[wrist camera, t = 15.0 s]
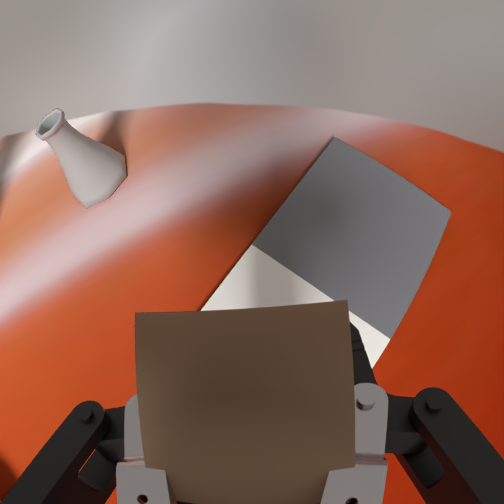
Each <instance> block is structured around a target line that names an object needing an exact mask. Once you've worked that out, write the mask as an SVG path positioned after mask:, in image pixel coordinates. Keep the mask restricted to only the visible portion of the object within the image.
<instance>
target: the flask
mask: <svg viewBox="0 0 504 504" xmlns="http://www.w3.org/2000/svg"><path fill="white" fill-rule="evenodd" d="M35 135H36V136H37V137H39V138H40V139H41V140H43V141H44V140H46V142H47V143H48V144H49V145H50V146H51V148H52V149H53V151H54V153H55V154H56V156H57V157H58V160H59V162H60V165H61V167H62V169H63V172H64V174H65V176H66V179H67V181H68V184H69V186H70V189H71V191H72V194H73V196H74V197H75V198H76V199H77V200H78V201H79V202H80V203H81V204H82V205H83V206H85V207H86V208H88V207H91V206H93V205H95V204H97V203H99V202H101V201H103V200H105V199H108V198H109V197H110V196H111V195H112V193H113V192H114V191H115V190H116V188H117V187H118V186H119V185H120V184H121V182H122V181H123V180H124V179H125V178H126V176H127V174H126V164H125V156H124V155H122V154H121V153H119V152H117V151H116V150H114V149H112V148H111V147H109V146H107V145H104V144H102V143H100V142H98V141H95V140H93V139H91V138H89V137H87V136H85V135H83V134H81V133H80V132H78V131H77V130H76V129H74V128H73V127H72V126H71V125H70V124H69V123H68V122H67V121H66V120H65V118H64V112H63V111H62V110H60V109H58V108H56V109H55V110H53V111H52V112H50V113H48V114H47V115H46V116H45V117H44V118H43V119H42V121H41V122H40V123H39V124H38V125H37V129H36V134H35Z"/></svg>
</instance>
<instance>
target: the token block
mask: <svg viewBox="0 0 504 504" xmlns="http://www.w3.org/2000/svg"><path fill="white" fill-rule="evenodd" d="M135 359H136V382H137V397H138V410H139V421H140V430H141V439H142V447H143V454H144V461H145V467H146V468H152V469H159V470H165V471H166V474H167V476H168V479H169V481H170V484H171V486H172V489H173V491H174V494H175V496H176V500H177V501H179V502H187V503H195V504H318V503H320V501H321V498H322V495H323V491H324V488H325V484H326V481H327V477H328V474H329V471H333V470H340V469H347V468H353V467H355V392H354V371H353V355H352V342H351V330H350V319H349V310H348V300H339V301H330V302H320V303H309V304H298V305H287V306H274V307H260V308H245V309H228V310H209V311H184V312H141V313H135Z"/></svg>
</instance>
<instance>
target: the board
mask: <svg viewBox="0 0 504 504" xmlns="http://www.w3.org/2000/svg"><path fill="white" fill-rule="evenodd" d="M450 214H451V211H449V210H448V209H447V208H445V207H444V206H443V205H441V204H440V203H439V202H437V201H436V200H435V199H433V198H432V197H431V196H429V195H428V194H426V193H425V192H423V191H422V190H421V189H419V188H418V187H416V186H415V185H413V184H412V183H410V182H409V181H407V180H406V179H404V178H403V177H401V176H400V175H398V174H397V173H395V172H394V171H392V170H390V169H389V168H387V167H386V166H384V165H382V164H381V163H379V162H378V161H376V160H374V159H373V158H371V157H369V156H367V155H366V154H364V153H362V152H361V151H359V150H357V149H355V148H354V147H352V146H350V145H348V144H346V143H345V142H343V141H341V140H339V139H337V138H335V137H334V139H333V140H332V141H331V142H330V144H329V145H328V146H327V148H326V149H325V150H324V151H323V153H322V154H321V155H320V157H319V158H318V159H317V160H316V162H315V163H314V164H313V166H312V167H311V168H310V169H309V171H308V172H307V173H306V175H305V176H304V177H303V178H302V180H301V181H300V182H299V184H298V185H297V186H296V187H295V189H294V190H293V191H292V193H291V194H290V195H289V196H288V198H287V199H286V200H285V202H284V203H283V204H282V206H281V207H280V208H279V209H278V211H277V212H276V213H275V215H274V216H273V217H272V218H271V220H270V221H269V222H268V224H267V225H266V226H265V228H264V229H263V230H262V231H261V233H260V234H259V235H258V237H257V238H256V239H255V240H254V242H253V243H252V244H251V246H250V247H249V248H248V250H247V251H246V252H245V253H244V255H243V256H242V257H241V259H240V260H239V261H238V263H237V264H236V265H235V266H234V268H233V269H232V270H231V272H230V273H229V274H228V276H227V277H226V278H225V279H224V281H223V282H222V283H221V285H220V286H219V287H218V289H217V290H216V291H215V293H214V294H213V295H212V296H211V298H210V299H209V300H208V302H207V303H206V304H205V306H204V307H203V308H202V310H201V311H209V310H228V309H245V308H260V307H274V306H287V305H298V304H309V303H320V302H330V301H339V300H348V310H349V319H350V322H351V323H352V324H353V325H354V326H355V327H356V328H357V329H358V330H359V333H360V336H361V339H362V342H363V344H364V347H365V350H366V353H367V356H368V359H369V362H370V365H371V368H373V366H374V365H375V363H376V362H377V360H378V358H379V357H380V355H381V354H382V352H383V351H384V349H385V347H386V346H387V344H388V342H389V341H390V339H391V337H392V336H393V334H394V332H395V331H396V329H397V327H398V325H399V324H400V322H401V320H402V318H403V317H404V315H405V313H406V311H407V309H408V307H409V305H410V304H411V302H412V300H413V298H414V296H415V294H416V292H417V290H418V288H419V286H420V284H421V282H422V280H423V278H424V276H425V274H426V271H427V269H428V267H429V265H430V263H431V261H432V258H433V256H434V254H435V252H436V249H437V247H438V245H439V242H440V240H441V237H442V235H443V232H444V230H445V227H446V225H447V222H448V220H449V217H450Z"/></svg>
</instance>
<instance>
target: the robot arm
mask: <svg viewBox="0 0 504 504" xmlns="http://www.w3.org/2000/svg"><path fill="white" fill-rule="evenodd" d="M350 330H351V342H352V355H353V371H354V392H355V467H353V468H347V469H340V470H333V471H329V474H328V477H327V481H326V484H325V488H324V491H323V495H322V498H321V501H320V503H318V504H382V500H383V494H384V488H385V481H386V474H387V460H386V459H385V457H384V453H394V455H395V456H396V458H397V459H398V461H399V462H400V464H401V465H402V467H403V468H404V470H405V471H406V473H407V474H408V476H409V477H410V479H411V481H412V482H413V484H414V485H415V487H416V488H417V490H418V491H419V493H420V494H421V496H422V497H423V499H424V501H425V502H426V504H504V460H503V459H502V457H501V456H500V455H499V454H498V452H497V451H496V450H495V449H494V447H493V446H492V445H491V444H490V442H489V441H488V440H487V439H486V437H485V436H484V435H483V434H482V433H481V431H480V430H479V429H478V428H477V427H476V425H475V424H474V423H473V422H472V421H471V419H470V418H469V417H468V416H467V415H466V414H465V412H464V411H463V410H462V409H461V408H460V407H459V405H458V404H457V403H456V402H455V401H454V400H453V398H452V397H451V396H450V395H449V394H448V393H447V392H446V391H444V390H442V389H439V388H426V389H424V390H422V391H420V392H419V393H418V394H417V395H416V397H401V396H394V395H390V394H388V393H386V392H385V391H384V390H383V389H382V388H381V387H379V386H378V384H377V383H376V380H375V377H374V374H373V371H372V368H371V365H370V362H369V359H368V356H367V353H366V350H365V347H364V344H363V342H362V339H361V336H360V333H359V330H358V329H357V328H356V327H355V326H354V325H353V324H352V323H351V322H350ZM94 449H96V450H95V451H94ZM93 451H94V453H93V454H92V455H91V453H92V452H93ZM90 455H91V457H90V458H89V456H90ZM88 458H89V459H88ZM87 459H88V461H87V462H86V460H87ZM85 462H86V464H85V465H84V466H83V464H84V463H85ZM82 466H83V468H82V469H81V467H82ZM80 469H81V471H80V472H79V470H80ZM78 472H79V473H78ZM116 486H117V502H118V504H195V503H187V502H179V501H177V500H176V496H175V494H174V491H173V489H172V486H171V484H170V481H169V479H168V476H167V474H166V471H165V470H159V469H152V468H146V467H145V461H144V454H143V447H142V439H141V430H140V421H139V410H138V397H137V394H136V395H134V396H133V397H132V398H131V399H130V400H129V401H128V402H127V404H126V406H123V407H118V408H112V409H105V410H104V409H103V407H102V406H101V405H100V404H99V403H98V402H95V401H85V402H82V403H80V404H79V405H77V406H76V407H75V408H74V409H73V411H72V412H71V413H70V414H69V415H68V417H67V418H66V419H65V420H64V422H63V423H62V424H61V425H60V426H59V428H58V429H57V430H56V431H55V433H54V434H53V435H52V436H51V438H50V439H49V440H48V441H47V443H46V444H45V445H44V446H43V448H42V449H41V450H40V452H39V453H38V454H37V455H36V457H35V458H34V459H33V460H32V462H31V463H30V464H29V466H28V467H27V468H26V470H25V471H24V472H23V473H22V475H21V476H20V477H19V479H18V480H17V481H16V483H15V484H14V485H13V487H12V488H11V489H10V491H9V492H8V493H7V495H6V496H5V497H4V499H3V500H2V502H1V503H0V504H105V502H106V501H107V499H108V498H109V496H110V495H111V493H112V492H113V490H114V489H115V487H116Z"/></svg>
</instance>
